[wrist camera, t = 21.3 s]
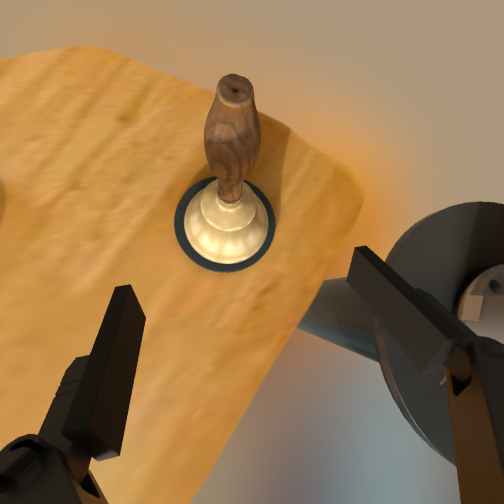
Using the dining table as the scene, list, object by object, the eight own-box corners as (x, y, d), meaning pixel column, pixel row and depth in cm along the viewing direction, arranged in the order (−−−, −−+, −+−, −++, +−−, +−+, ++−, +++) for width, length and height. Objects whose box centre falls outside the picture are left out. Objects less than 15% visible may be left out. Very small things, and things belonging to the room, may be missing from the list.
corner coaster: (276, 184, 26) (277, 181, 25) (271, 276, 24) (272, 276, 23) (181, 172, 25) (180, 169, 24) (168, 268, 23) (167, 267, 22)
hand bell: (278, 251, 24) (384, 168, 8) (195, 273, 22) (135, 223, 7) (255, 176, 25) (310, -22, 9) (176, 193, 24) (85, -7, 8)
